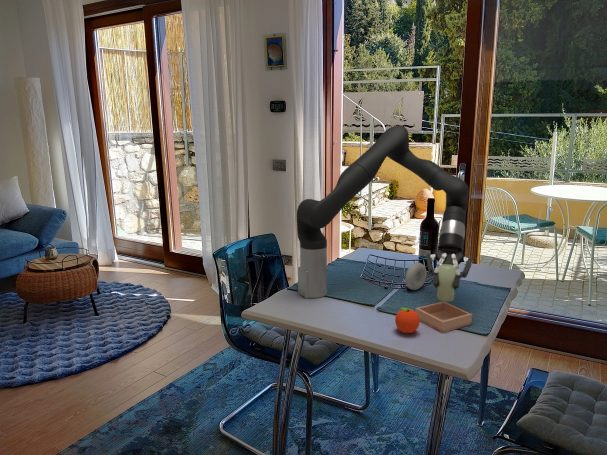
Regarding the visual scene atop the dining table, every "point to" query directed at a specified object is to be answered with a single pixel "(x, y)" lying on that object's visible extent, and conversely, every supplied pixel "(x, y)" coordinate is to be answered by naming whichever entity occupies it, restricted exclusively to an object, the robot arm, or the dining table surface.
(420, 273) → the donut
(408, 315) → the clementine
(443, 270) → the pale green cylinder
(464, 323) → the dish
